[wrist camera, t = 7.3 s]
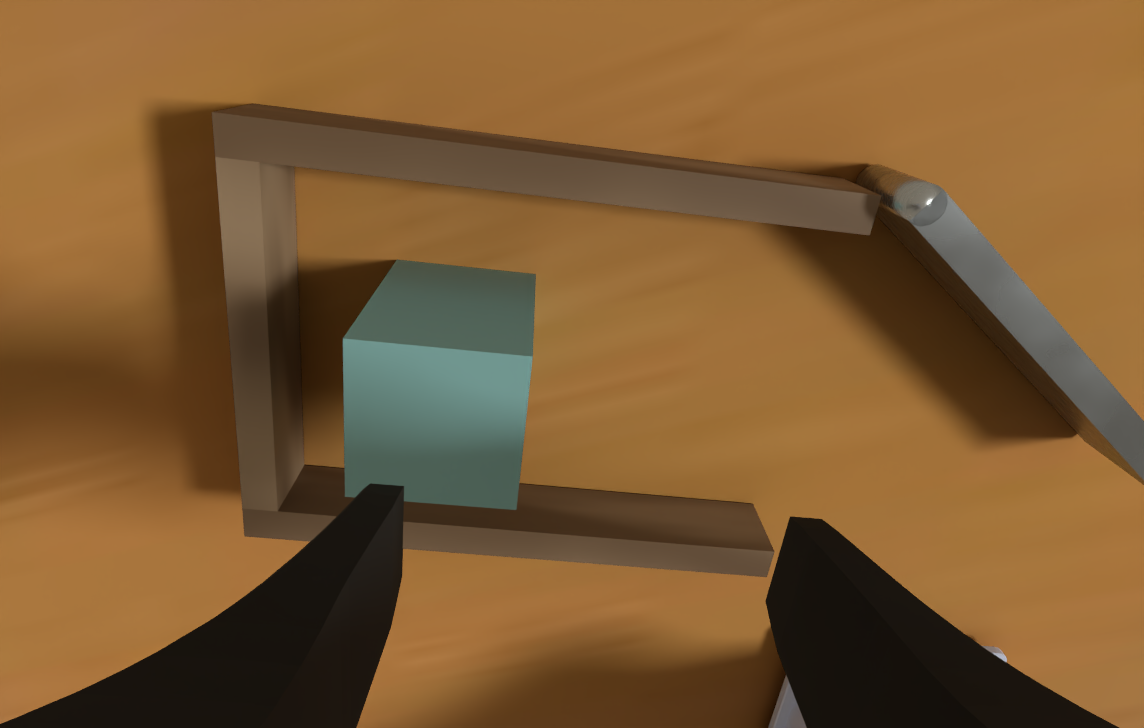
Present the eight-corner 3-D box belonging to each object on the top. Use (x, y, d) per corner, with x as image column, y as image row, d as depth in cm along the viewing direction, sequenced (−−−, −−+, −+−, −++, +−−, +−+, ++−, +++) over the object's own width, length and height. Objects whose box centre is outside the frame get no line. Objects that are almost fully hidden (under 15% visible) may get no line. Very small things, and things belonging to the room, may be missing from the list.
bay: (746, 527, 25) (766, 577, 22) (274, 488, 23) (244, 536, 21) (843, 178, 20) (881, 195, 17) (253, 103, 18) (211, 112, 16)
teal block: (523, 395, 22) (516, 510, 17) (394, 383, 22) (344, 496, 16) (536, 274, 21) (532, 356, 15) (397, 259, 20) (342, 338, 15)
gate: (1111, 421, 23) (1187, 471, 20) (1084, 441, 23) (1155, 493, 21) (876, 156, 19) (930, 175, 17) (847, 184, 20) (896, 207, 17)
